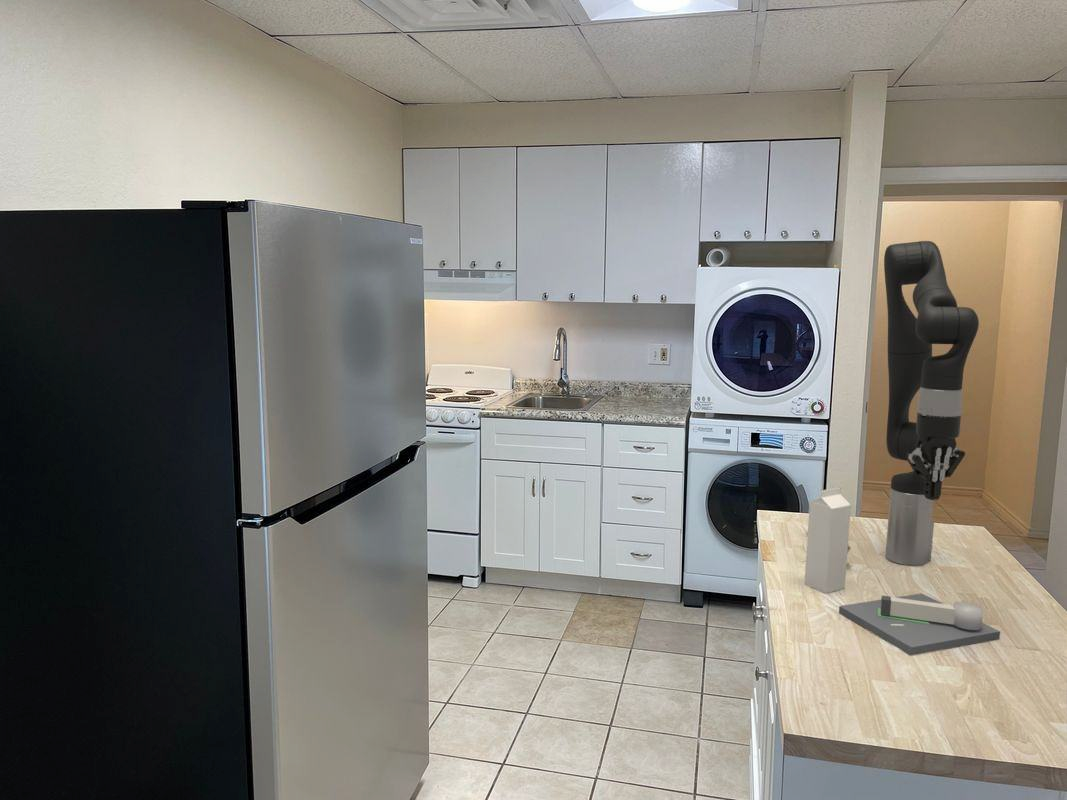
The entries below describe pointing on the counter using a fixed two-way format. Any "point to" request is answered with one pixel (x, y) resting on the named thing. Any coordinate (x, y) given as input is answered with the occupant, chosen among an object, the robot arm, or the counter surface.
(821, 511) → the milk
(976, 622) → the tuning lever
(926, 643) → the board
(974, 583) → the counter surface
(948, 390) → the robot arm
